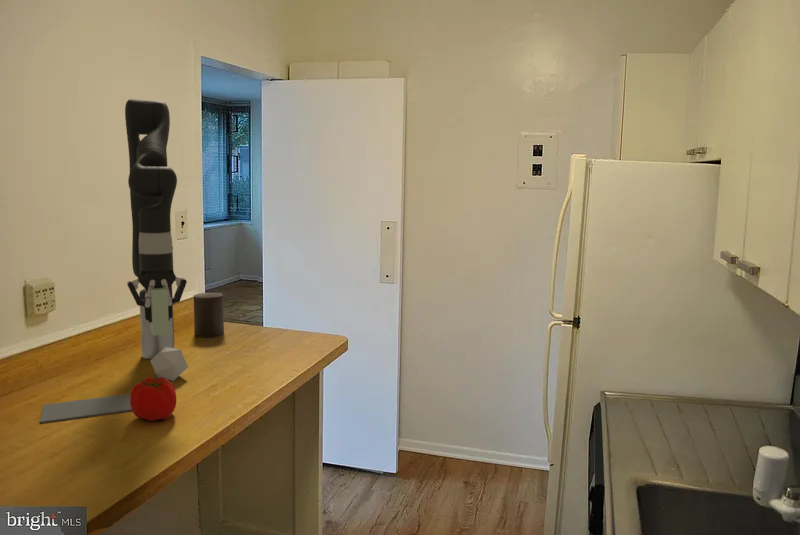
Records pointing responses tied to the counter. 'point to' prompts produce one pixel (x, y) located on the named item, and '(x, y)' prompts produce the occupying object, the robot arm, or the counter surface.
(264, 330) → the counter surface
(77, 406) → the mat
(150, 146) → the robot arm
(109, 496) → the counter surface
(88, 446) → the counter surface
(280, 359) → the counter surface
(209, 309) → the pillar candle
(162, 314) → the slab
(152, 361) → the die
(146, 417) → the tomato
